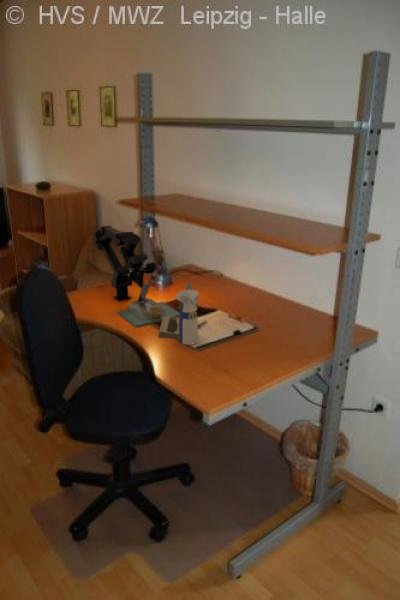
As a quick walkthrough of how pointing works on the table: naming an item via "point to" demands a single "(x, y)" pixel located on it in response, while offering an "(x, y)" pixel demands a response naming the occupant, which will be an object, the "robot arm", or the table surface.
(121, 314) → the board
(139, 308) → the heat sink
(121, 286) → the robot arm
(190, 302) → the water bottle
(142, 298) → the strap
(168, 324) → the computer
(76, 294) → the table surface
